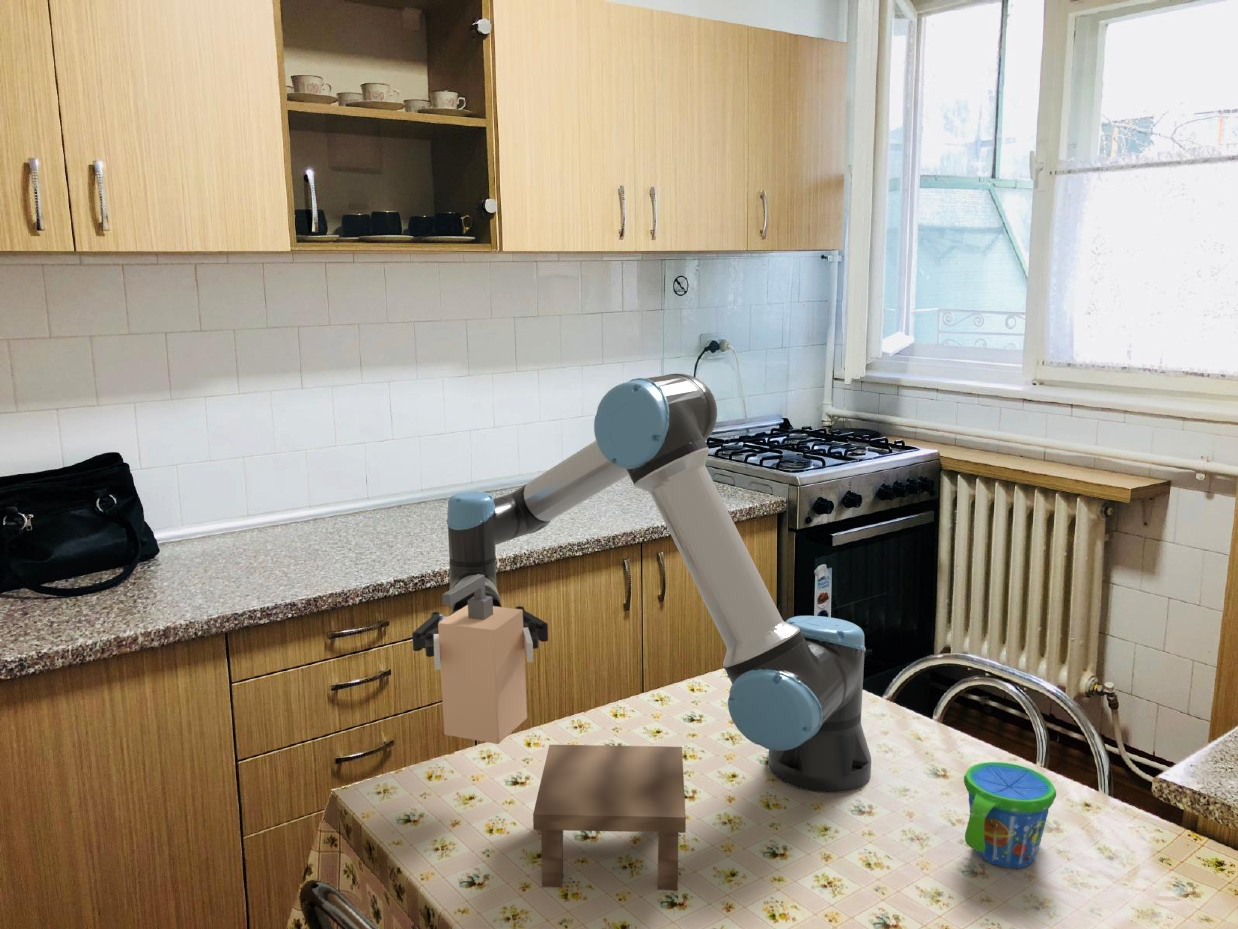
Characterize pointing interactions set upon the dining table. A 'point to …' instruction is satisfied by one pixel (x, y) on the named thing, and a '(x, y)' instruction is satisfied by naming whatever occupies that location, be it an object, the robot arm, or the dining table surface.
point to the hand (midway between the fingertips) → (484, 656)
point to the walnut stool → (611, 800)
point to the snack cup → (1007, 812)
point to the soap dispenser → (481, 666)
